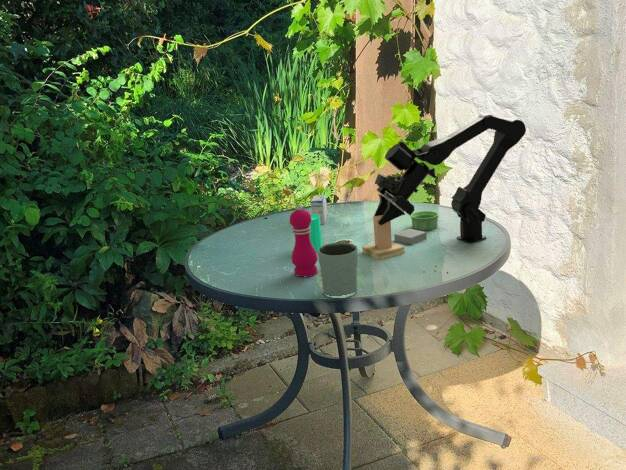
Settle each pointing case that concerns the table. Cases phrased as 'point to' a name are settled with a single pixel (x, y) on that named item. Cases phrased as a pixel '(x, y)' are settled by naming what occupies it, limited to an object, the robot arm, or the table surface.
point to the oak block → (383, 251)
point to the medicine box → (319, 207)
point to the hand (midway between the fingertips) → (376, 222)
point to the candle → (315, 232)
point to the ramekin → (424, 220)
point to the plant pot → (338, 268)
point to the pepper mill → (303, 243)
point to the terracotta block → (382, 233)
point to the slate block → (410, 236)
